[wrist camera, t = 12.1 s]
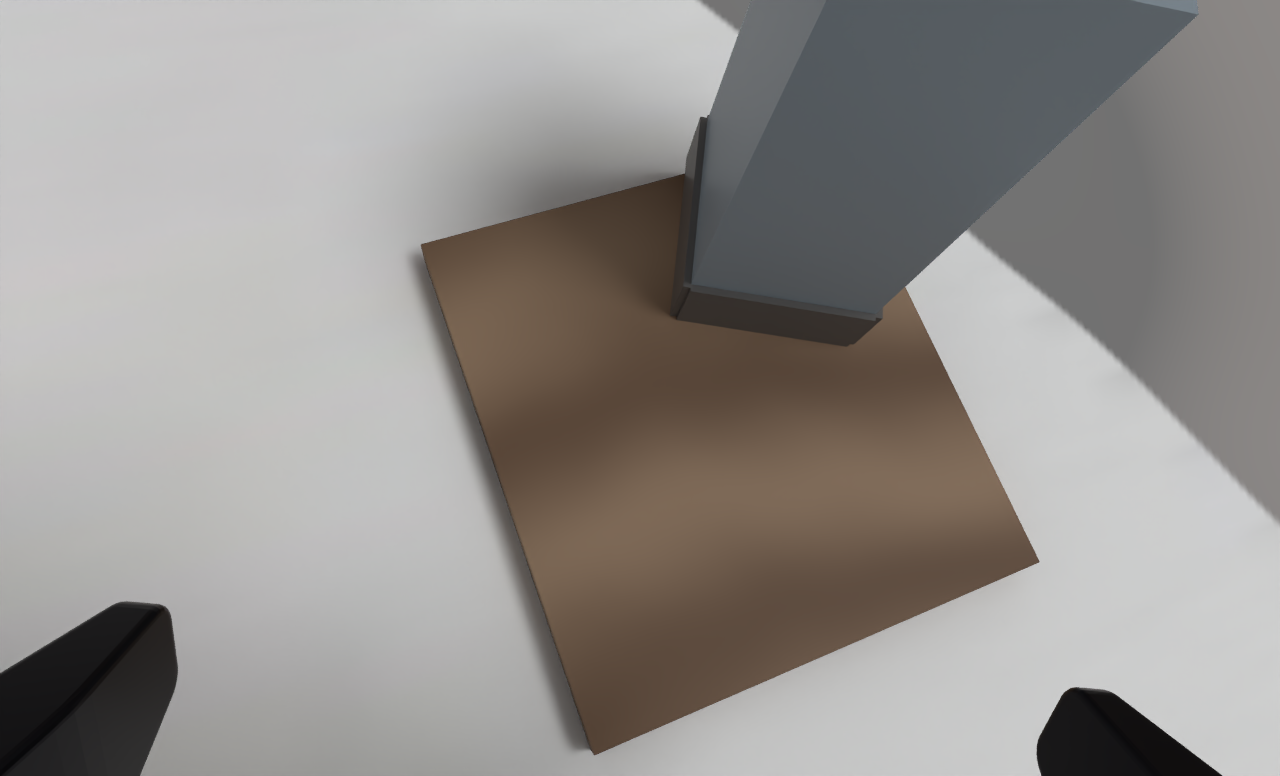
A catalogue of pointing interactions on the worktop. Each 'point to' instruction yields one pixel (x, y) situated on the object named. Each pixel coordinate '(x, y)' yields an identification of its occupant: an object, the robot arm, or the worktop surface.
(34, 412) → the worktop surface
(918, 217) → the sleeve
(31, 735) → the robot arm
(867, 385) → the pin board
